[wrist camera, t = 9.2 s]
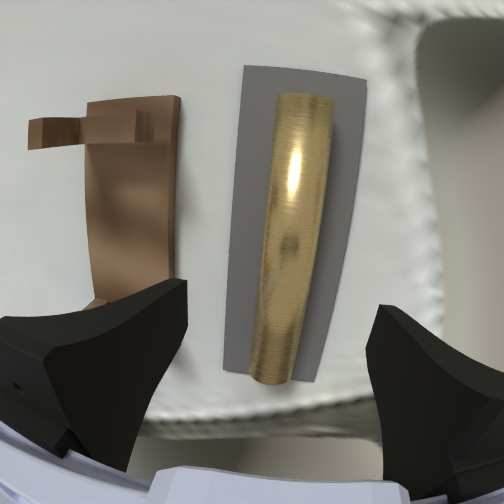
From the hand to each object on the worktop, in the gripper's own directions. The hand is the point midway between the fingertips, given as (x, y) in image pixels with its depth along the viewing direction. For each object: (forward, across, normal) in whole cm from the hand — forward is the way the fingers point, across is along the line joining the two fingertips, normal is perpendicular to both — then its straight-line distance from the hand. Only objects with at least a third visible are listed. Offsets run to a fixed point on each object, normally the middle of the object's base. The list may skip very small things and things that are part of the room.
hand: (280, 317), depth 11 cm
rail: (+6, 0, 0) cm, 7 cm away
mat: (+8, 0, 0) cm, 8 cm away
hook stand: (+8, +10, 0) cm, 13 cm away
